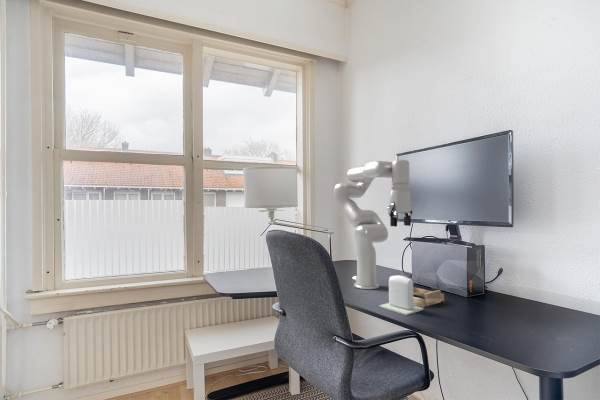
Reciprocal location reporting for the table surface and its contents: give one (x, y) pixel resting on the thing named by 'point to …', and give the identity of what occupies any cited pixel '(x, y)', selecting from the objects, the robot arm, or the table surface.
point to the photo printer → (401, 292)
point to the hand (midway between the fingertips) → (400, 225)
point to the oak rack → (427, 297)
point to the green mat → (401, 309)
